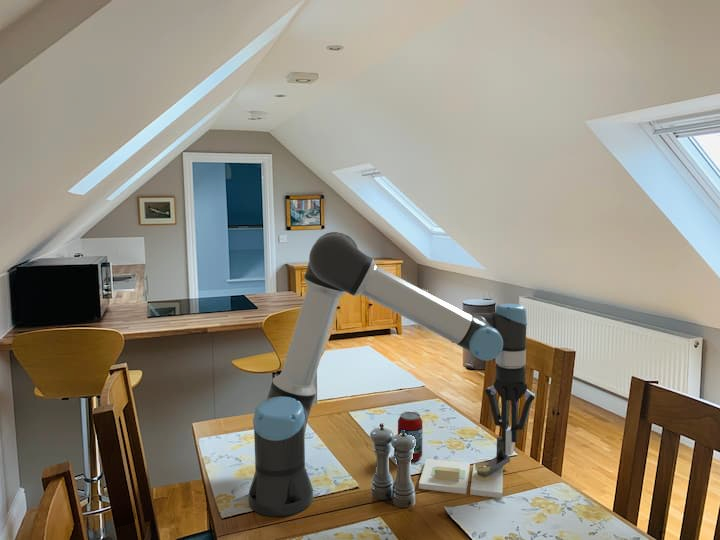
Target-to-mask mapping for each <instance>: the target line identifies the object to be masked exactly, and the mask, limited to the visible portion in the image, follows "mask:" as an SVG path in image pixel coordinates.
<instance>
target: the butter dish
mask: <svg viewBox="0 0 720 540" xmlns="http://www.w3.org/2000/svg"><path fill="white" fill-rule="evenodd" d="M470 471H471V463H470V462H462V461H461V462H460V461H452V460H442V459H432V458H426V459H425V462H424V466H423V469H422V472H421V476H420V478H419V481H418V489H419V490H420V489H421V490H425V491H426V490H428V491H437V492H445V493H451V494H452V493H454V494H462V495H467V492H468V491H467V490H468V483H469V478H470V477H469V476H470Z"/></svg>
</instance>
